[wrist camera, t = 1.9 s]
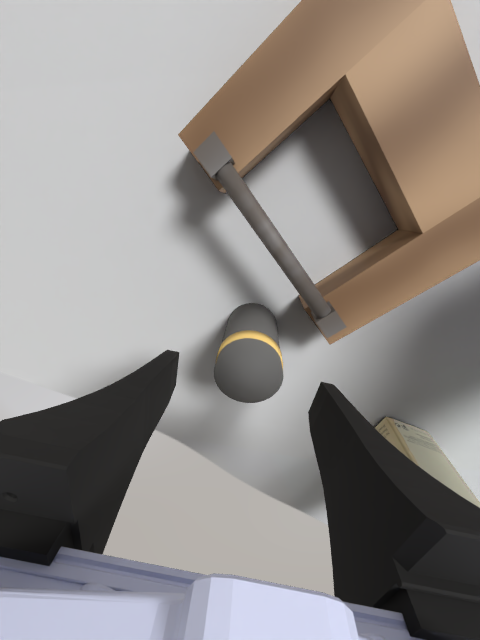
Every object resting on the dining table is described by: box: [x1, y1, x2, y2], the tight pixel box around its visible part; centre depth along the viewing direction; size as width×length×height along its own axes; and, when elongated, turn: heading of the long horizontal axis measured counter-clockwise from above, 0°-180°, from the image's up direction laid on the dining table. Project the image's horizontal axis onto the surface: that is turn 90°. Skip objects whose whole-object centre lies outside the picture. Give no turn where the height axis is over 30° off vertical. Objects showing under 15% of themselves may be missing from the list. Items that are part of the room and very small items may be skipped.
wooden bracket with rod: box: [178, 0, 480, 344], centre depth 12 cm, size 14×11×4 cm
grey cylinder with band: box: [214, 303, 283, 403], centre depth 16 cm, size 4×4×6 cm
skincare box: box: [375, 417, 480, 508], centre depth 17 cm, size 6×4×12 cm
